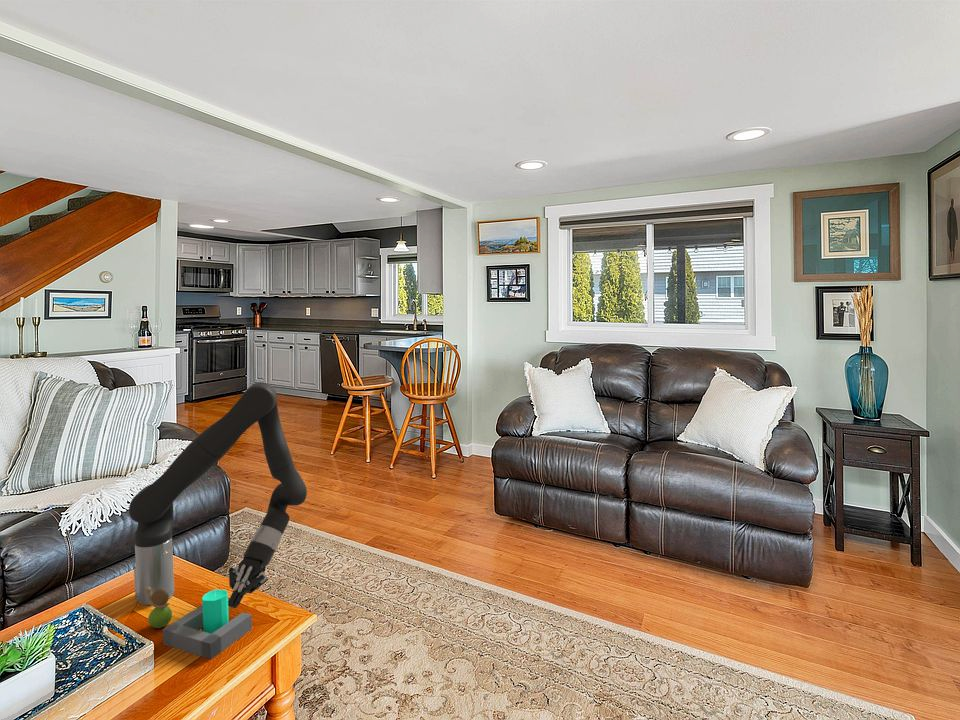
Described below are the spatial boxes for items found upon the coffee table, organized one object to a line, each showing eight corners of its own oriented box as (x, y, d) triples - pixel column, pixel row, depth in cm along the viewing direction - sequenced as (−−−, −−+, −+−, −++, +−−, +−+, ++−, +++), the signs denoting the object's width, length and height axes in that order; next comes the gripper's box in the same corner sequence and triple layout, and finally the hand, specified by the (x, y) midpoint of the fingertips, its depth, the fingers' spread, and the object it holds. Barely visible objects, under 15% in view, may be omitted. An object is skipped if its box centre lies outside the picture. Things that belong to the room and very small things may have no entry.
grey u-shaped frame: (163, 644, 130) (162, 629, 130) (206, 616, 142) (206, 602, 142) (211, 659, 125) (210, 643, 124) (251, 629, 137) (251, 614, 137)
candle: (220, 640, 132) (219, 596, 131) (198, 639, 132) (196, 594, 131) (233, 626, 138) (232, 583, 137) (212, 625, 138) (210, 582, 137)
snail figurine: (153, 619, 140) (151, 577, 139) (176, 620, 140) (175, 578, 139) (140, 632, 135) (138, 588, 134) (164, 632, 135) (162, 589, 134)
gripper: (238, 536, 150) (204, 597, 140) (274, 543, 145) (242, 608, 135) (253, 546, 156) (221, 606, 145) (288, 553, 151) (258, 616, 141)
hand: (231, 606), depth 140 cm, fingers closed
